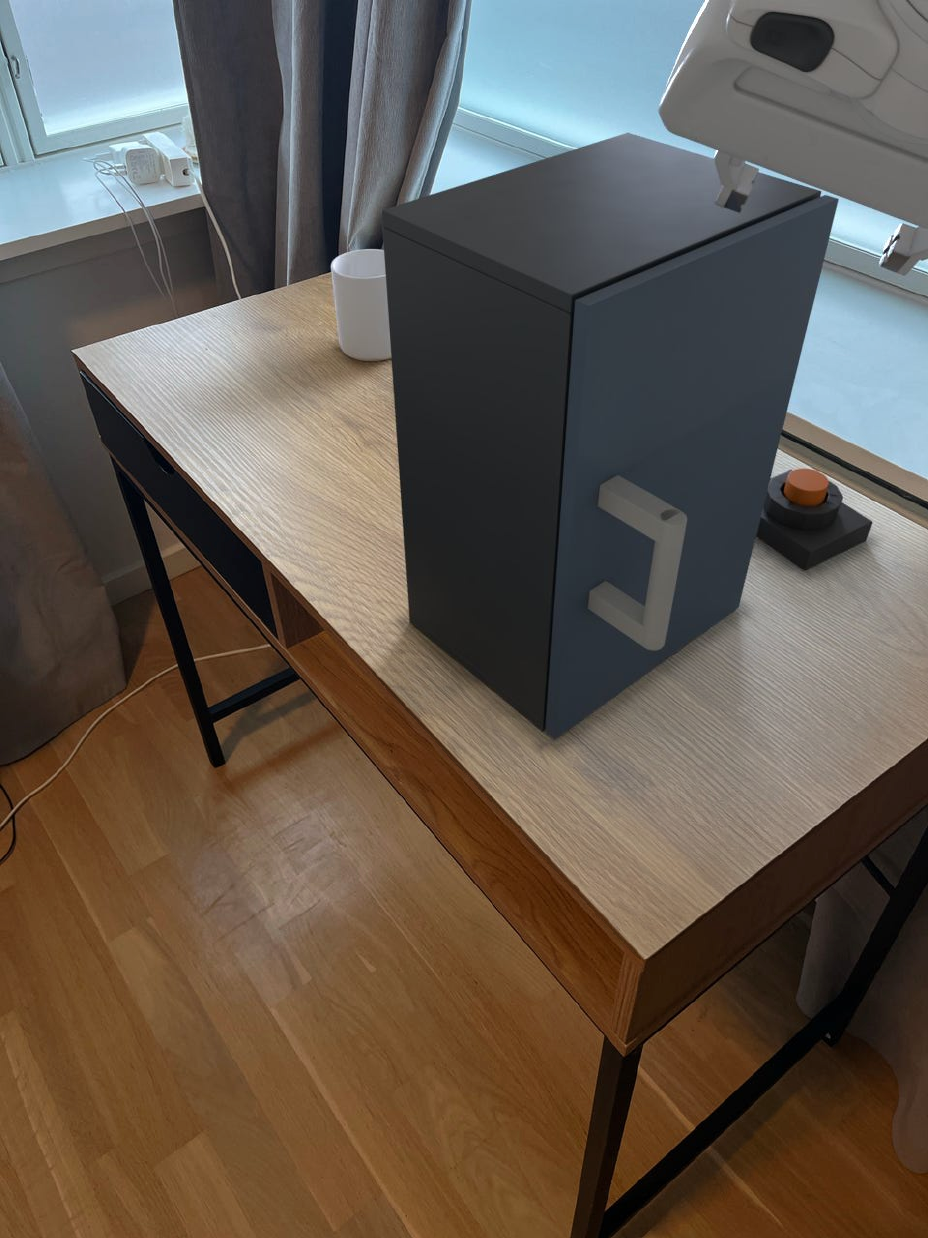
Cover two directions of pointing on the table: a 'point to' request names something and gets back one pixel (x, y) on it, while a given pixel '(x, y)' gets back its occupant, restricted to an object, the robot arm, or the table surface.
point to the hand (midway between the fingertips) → (811, 229)
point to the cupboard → (519, 373)
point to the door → (673, 449)
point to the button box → (810, 525)
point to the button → (806, 487)
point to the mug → (362, 304)
